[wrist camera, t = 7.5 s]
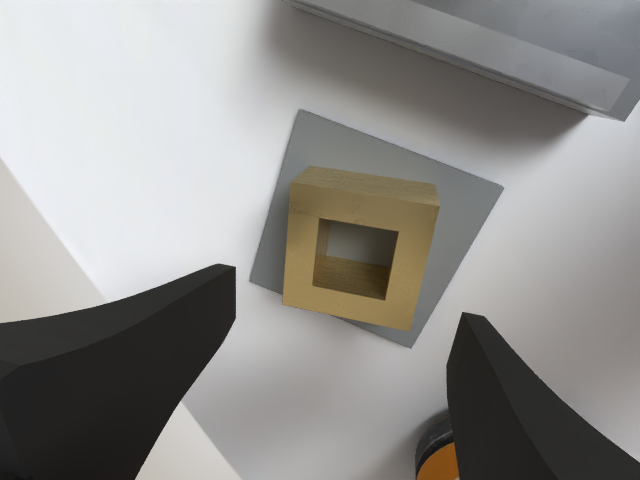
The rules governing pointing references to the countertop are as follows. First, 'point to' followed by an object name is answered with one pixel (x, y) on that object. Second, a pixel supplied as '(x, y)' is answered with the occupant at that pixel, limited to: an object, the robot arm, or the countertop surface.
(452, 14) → the block
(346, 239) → the rubber mat
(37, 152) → the countertop surface
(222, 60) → the countertop surface
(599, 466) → the robot arm
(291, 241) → the brass square ring
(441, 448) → the canister
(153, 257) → the countertop surface
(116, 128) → the countertop surface
